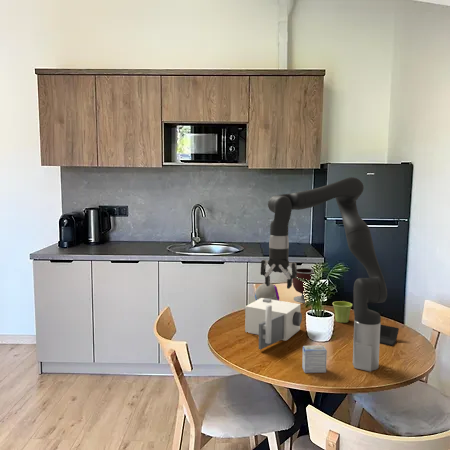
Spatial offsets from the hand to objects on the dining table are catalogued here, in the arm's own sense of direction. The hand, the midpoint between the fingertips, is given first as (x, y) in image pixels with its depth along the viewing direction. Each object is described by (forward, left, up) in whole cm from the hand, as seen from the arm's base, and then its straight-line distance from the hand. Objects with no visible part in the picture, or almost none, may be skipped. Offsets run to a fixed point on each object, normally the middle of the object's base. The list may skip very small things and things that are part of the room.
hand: (278, 287), depth 171 cm
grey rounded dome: (+46, +27, -27) cm, 59 cm away
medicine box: (-8, -18, -27) cm, 34 cm away
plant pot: (+51, -11, -27) cm, 58 cm away
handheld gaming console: (+35, -34, -27) cm, 56 cm away
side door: (+4, +3, -26) cm, 26 cm away
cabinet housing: (+21, +12, -27) cm, 35 cm away
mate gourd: (+76, +17, -27) cm, 82 cm away
